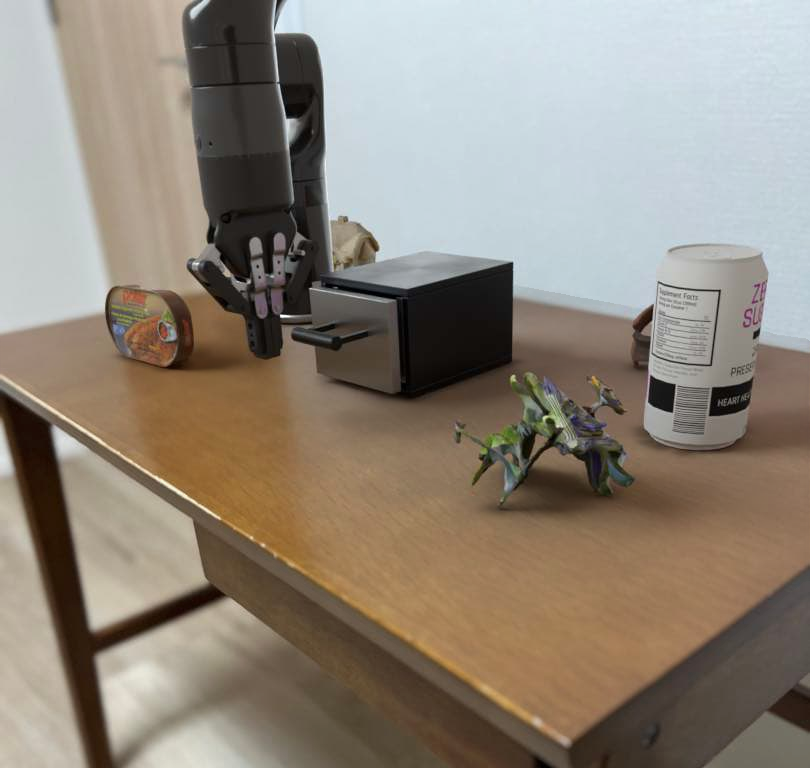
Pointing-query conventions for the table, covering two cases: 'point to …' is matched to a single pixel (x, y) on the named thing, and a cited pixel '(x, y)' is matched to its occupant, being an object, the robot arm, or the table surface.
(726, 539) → the table surface
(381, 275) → the black drawer cabinet
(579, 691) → the table surface
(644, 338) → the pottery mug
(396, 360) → the dish drawer
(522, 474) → the passion flower
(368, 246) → the ceramic model
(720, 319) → the supplement can
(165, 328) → the tin
